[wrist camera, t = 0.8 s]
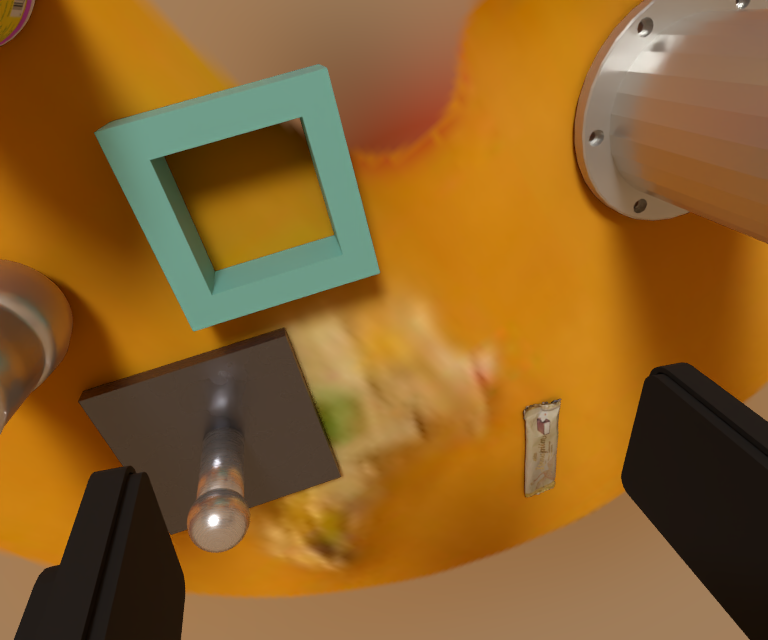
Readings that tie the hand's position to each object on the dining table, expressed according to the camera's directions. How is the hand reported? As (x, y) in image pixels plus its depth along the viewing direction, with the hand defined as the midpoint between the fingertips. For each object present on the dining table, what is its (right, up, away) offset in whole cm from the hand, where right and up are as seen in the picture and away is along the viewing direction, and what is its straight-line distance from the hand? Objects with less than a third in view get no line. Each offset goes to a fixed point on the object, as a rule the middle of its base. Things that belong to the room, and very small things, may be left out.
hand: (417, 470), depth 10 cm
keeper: (-11, -4, +24) cm, 27 cm away
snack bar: (+11, -7, +32) cm, 35 cm away
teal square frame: (-7, +9, +17) cm, 21 cm away
